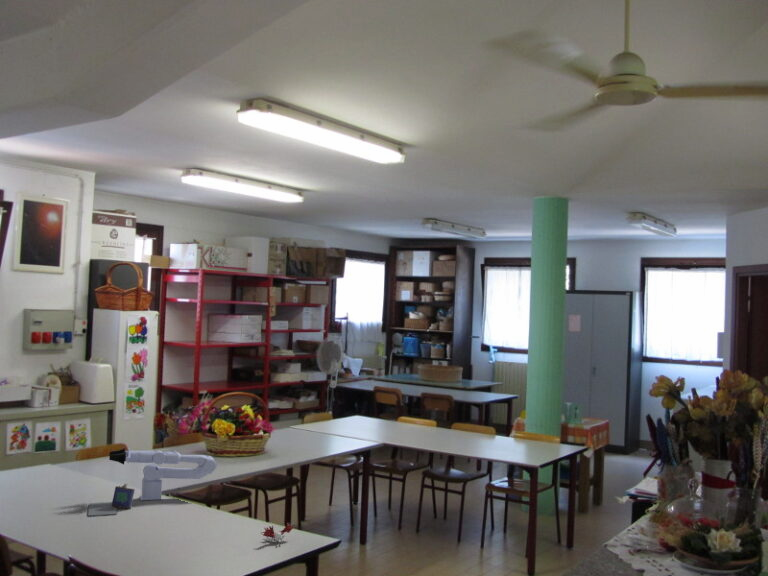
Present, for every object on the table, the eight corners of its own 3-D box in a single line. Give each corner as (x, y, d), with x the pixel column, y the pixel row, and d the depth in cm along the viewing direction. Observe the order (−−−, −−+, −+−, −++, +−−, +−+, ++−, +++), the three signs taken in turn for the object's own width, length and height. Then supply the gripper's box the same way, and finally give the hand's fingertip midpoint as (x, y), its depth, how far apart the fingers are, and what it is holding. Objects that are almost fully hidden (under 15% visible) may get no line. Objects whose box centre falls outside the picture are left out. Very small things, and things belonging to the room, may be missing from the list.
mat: (116, 502, 344) (116, 501, 344) (116, 514, 325) (116, 513, 325) (89, 504, 340) (89, 503, 340) (88, 516, 321) (88, 515, 321)
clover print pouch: (131, 508, 336) (136, 484, 338) (129, 508, 334) (133, 485, 336) (112, 505, 337) (117, 482, 339) (110, 506, 334) (114, 482, 336)
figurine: (282, 533, 307) (283, 518, 307) (298, 541, 298) (298, 525, 298) (251, 540, 297) (252, 524, 297) (267, 548, 288) (268, 531, 288)
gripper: (139, 445, 359) (110, 444, 355) (140, 451, 346) (110, 450, 341) (137, 459, 359) (108, 458, 354) (138, 466, 346) (108, 465, 341)
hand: (109, 455), depth 348 cm, fingers open, 7 cm apart
